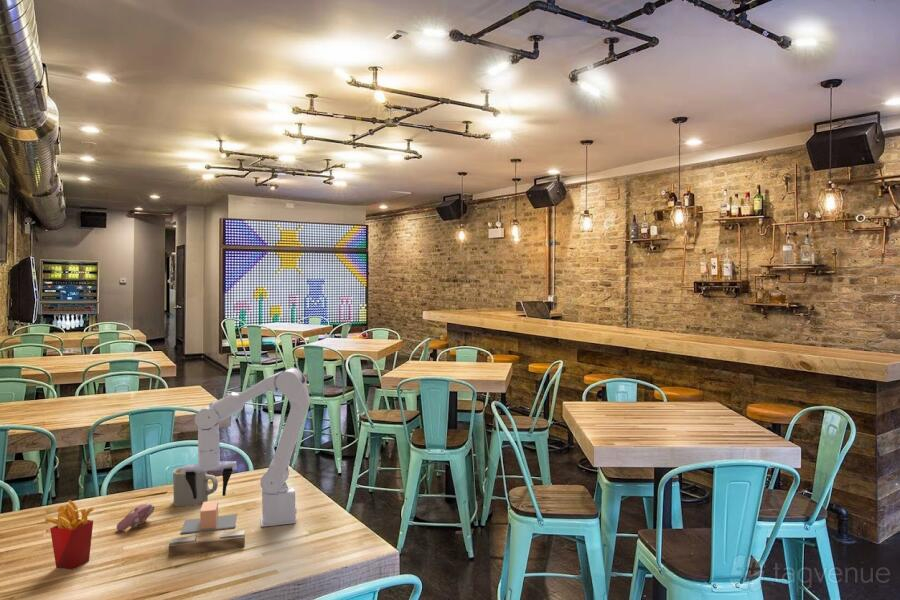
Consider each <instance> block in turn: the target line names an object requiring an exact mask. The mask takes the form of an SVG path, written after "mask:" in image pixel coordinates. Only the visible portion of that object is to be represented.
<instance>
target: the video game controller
mask: <svg viewBox="0 0 900 600" xmlns="http://www.w3.org/2000/svg"><path fill="white" fill-rule="evenodd" d="M154 511H155V506H154V505H152V504H149V503H148V502H146V503H145V504H143V503H142V504H140V505H139V504H138V505H137V506H135V507H134V508H133V510H130V512H128V513H127V514H126V515H125V517H124V518H123V519H121V520H120V521H119V522H118V523H117V524H116V530H117V531H118V532H123V531H125V530H126V529H128V528H129V527H130V528H132V529H135V528H137V526H138V525H139V524H141V525H143V524H144V523H146V521H147V519H148V518H149V517H150V516H151V515H152V514H153V512H154Z"/></svg>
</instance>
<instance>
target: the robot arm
mask: <svg viewBox="0 0 900 600" xmlns="http://www.w3.org/2000/svg"><path fill="white" fill-rule="evenodd" d="M307 382H308V381H307V378H306V376H305V375H304V374H303V372H302V371H301V370H300V368H297V367H294V366H293V367H292V366H291V367H288V368H286V369H285V370H282V371H279V372H276V373H273V374H271V375H269V376H267V377H266V378H264V379H262V380H259V382H257V383H255V384H253V385H251V386H250V387H249V388H247V389H246V390H244V391H242V392H240V393H239V392H234V391H233V392H231V393H229V392H227V393H225V394H223V397H222V398H219V399H218V400H217V401H215V402H214V401H212V402H209V403H208V406H206V407H204V408H201V409H200V410H199V411H198V412H197V413H196V414H195V417H194V423H195V425H196V426H197V453H198V454H197V459H198V463H193V464H188V465H187V464H186V465H182V466H181V474H186V476H185V478H186V480H187V482H188V483H189V485H190V487H191V490H192V493H193V498H194V499H196V498H197V487H196V473H197V472H206V471H207V472H214V471H215V472H216V471H217V472H218V471H222V497H226V494H227V493H226V492H227V487H228V484H229V480H230V479H231V476H232V473H233V471H234V470H237V460H235V461H233V460H232V461H225V460H224V461H223V460H222V461H221V456H220V455H221V454H220V453H221V451H220V447H221V446H220V422H221V421H225V420H226V419H228V418H230V417H232V416H233V415H235V414H237V413H239V412H240V411H243V409H244V406H245V403H247V402H249V401H252V400H253V399H255V398H257V397H259V396H261V395H263V394H265V393H267V392H274V393H276V392H278V391H279V392H280V393H281V394H282V395H283V396H285V397H286V398H287V400H288V401H289V403H290V404H291V407H290V409H289V412H288V415H287V418H286V421H285V424H284V426H283V429H282V433H281V436H280V438H279V440H278V443H277V447H276V450H275V452H274V455H273V457H272V460H271V462H270V464H269V466H268V469H267V471H266V472H265V473H264V474H263V475H262V477H261V478H260V482H259V483H260V487H261V497H262V498H261V501H262V503H261V505H262V510H261V511H262V514H261V516H260V527H261V528H265V527H274V526H280V525H281V526H282V525H289V524H295V523H296V522H297V521H296V518H297V517H296V515H297V507H296V489H295V488H291V487H290V488H289V486H288V484H287V482H286V481H287V480H288V478H289V476H290V470H289V466H290V463H291V457H292V455H293V453H294V450H295V447H296V445H297V440H298V438H299V436H300V432H301V430H302V427H303V424H304V422H305V419H306V415H307V413H308V410H309V407H310V404H311V397H310V393H309V389H308V384H307Z"/></svg>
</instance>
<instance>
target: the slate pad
mask: <svg viewBox="0 0 900 600" xmlns="http://www.w3.org/2000/svg"><path fill="white" fill-rule="evenodd" d="M237 516H238V515H237V513H236V514H234V513H233V514H227V515H226V514H225V515H218V521H217V526H216V528H209V529H201V521H200V517H198V518H189V519H184V522H183V525H182V527H181V531H180V535H186V534H197V533H201V532H202V533H205V532H211V531H221V530H231V529H235V528H236V521H237Z"/></svg>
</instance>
